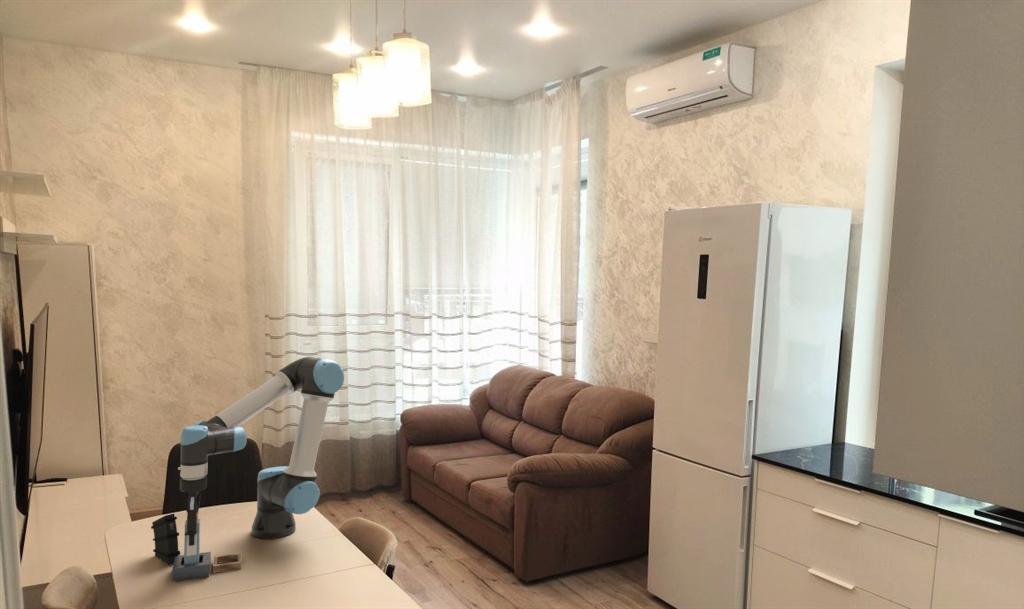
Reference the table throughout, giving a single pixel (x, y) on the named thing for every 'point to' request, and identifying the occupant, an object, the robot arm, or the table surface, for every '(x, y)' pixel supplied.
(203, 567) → the port
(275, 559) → the table surface
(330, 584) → the table surface
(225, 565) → the brown square frame
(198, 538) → the plug
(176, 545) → the magazine
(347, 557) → the table surface
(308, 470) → the robot arm
